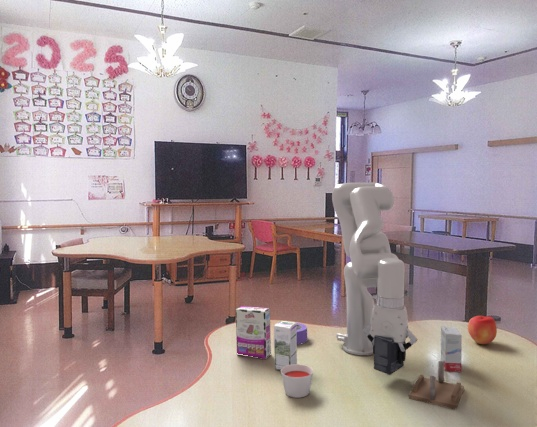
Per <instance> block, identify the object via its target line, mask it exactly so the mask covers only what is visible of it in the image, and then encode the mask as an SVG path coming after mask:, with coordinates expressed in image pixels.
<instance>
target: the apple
mask: <svg viewBox="0 0 537 427" xmlns="http://www.w3.org/2000/svg"><path fill="white" fill-rule="evenodd" d="M467 331H468V334H469V336H470V337H471V339H472V340H473V341H474V342H475V343H477V344H479V345H488V344H490V343H492V342H493V341H494V340H495V339H496V337H497V332H498V327H497V323H496V320H495V319H494V318H493V317H492V316H484V315H476V316H473V317H472V318H470V319H469V321H468V323H467Z"/></svg>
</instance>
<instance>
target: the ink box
mask: <svg viewBox="0 0 537 427" xmlns="http://www.w3.org/2000/svg"><path fill="white" fill-rule="evenodd" d="M462 340H463V339H462V334H461V332H460V331H459V330H458V328H457V327H456V326H446V325H441V326H440V361H443V362H444V370H445V371H446V372H456V373H458V372H460V373H461V372H462V367H463V366H462V362H463V361H462V355H463V354H462V348H463V347H462Z"/></svg>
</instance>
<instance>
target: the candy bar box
mask: <svg viewBox="0 0 537 427" xmlns="http://www.w3.org/2000/svg"><path fill="white" fill-rule="evenodd" d="M235 329H236V330H235V332H236V334H235V335H236V354H237V353H238V354H243V355H248V356H253V357H258V358H257V359H260V358H262V360H266V358H267V357H268V356H269V355H270V354H271V355H272V348H271V347H272V346H271V344H272V341H271V340H272V339H271V309H270V308H269V307H260V306H259V307H258V306H257V307H256V306H246V305H241V306H239V307H237V308H236V309H235ZM271 355H270V356H271ZM270 356H269V357H270ZM253 357H252V358H253ZM269 357H268V358H269ZM268 358H267V359H268Z"/></svg>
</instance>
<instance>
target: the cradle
mask: <svg viewBox="0 0 537 427" xmlns="http://www.w3.org/2000/svg"><path fill="white" fill-rule="evenodd" d="M437 368H438V371H437V372H438V377H437V378H438V380H436V376H435V375H429V378H428V377H425V375H423V374H420V375H419V376H418V378H417V379H416V381H415V383H414V384H413V386H412V389H411V391H410V392H409V394H408V399H410V400H414V401H419V402H423V403H428V404H432V405H435V406H436V405H437V406H440V407H441V406H442V407H443V408H444V407H445V408H448V409H449V408H450V409H453V410H457V408H458V405H459V402H460V400H461V398H462V395H463V392H464V390H465V385H462V382H458V381H457V382H456V383H453V382H448V381H445V379H444V378H445V376H444V375H445V374H444V370H445V368H444V362H443V361H441V360H439V361H438V367H437Z"/></svg>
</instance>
